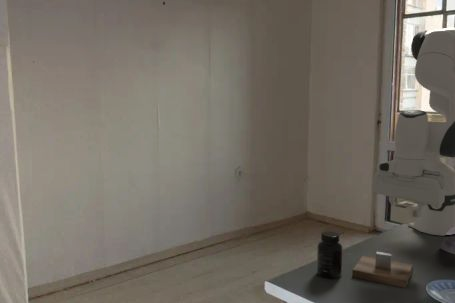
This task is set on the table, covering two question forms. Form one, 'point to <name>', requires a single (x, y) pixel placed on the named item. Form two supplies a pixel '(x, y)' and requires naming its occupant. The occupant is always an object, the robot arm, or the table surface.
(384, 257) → the tall grey block
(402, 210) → the open rectangular brace
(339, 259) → the supplement bottle
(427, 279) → the table surface
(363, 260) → the board
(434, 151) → the robot arm
